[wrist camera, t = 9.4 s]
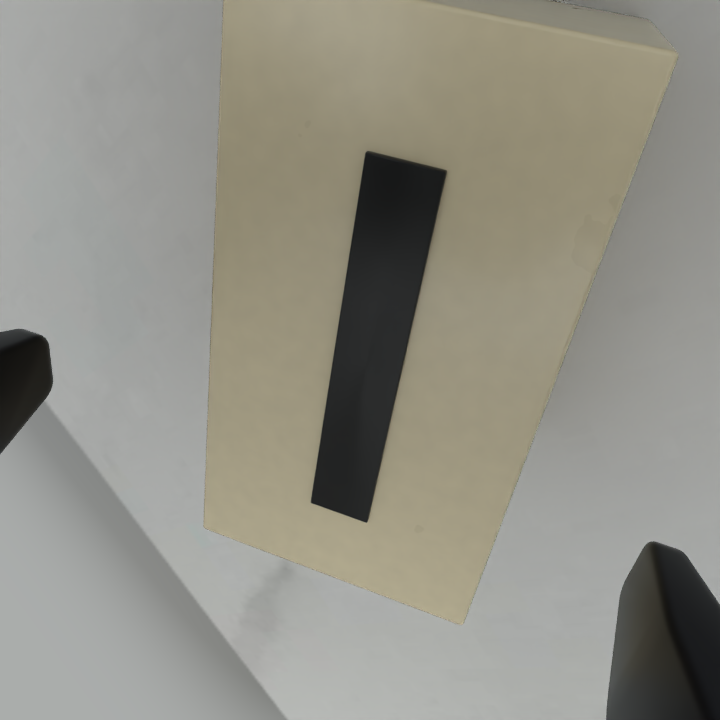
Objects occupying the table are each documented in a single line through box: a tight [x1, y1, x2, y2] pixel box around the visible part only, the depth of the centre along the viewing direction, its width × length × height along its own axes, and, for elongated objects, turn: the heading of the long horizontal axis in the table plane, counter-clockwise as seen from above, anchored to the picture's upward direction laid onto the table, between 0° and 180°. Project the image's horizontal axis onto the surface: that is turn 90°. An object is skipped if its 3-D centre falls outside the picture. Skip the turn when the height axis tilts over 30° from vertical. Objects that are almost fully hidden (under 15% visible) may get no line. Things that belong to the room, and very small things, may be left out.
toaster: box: [203, 0, 678, 625], centre depth 14 cm, size 6×11×7 cm, turn 171°
